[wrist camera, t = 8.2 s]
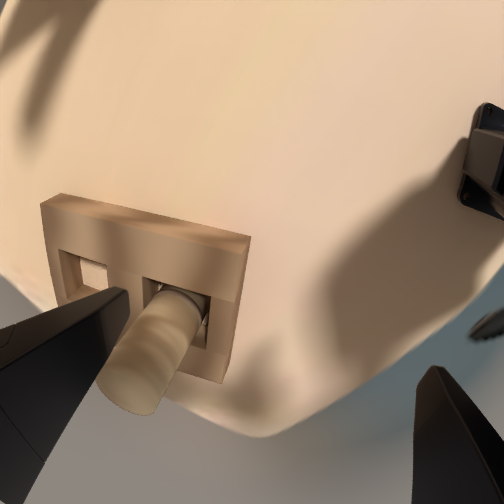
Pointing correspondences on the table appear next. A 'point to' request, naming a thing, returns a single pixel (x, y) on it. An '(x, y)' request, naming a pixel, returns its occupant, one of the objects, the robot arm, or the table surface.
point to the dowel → (152, 349)
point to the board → (150, 267)
